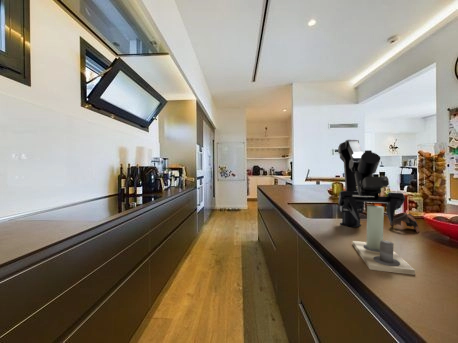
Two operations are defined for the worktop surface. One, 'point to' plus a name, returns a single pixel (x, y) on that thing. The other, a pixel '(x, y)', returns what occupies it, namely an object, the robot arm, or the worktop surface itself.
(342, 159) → the robot arm
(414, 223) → the dark brown curved piece
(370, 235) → the sage pin
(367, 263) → the board
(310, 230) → the worktop surface
